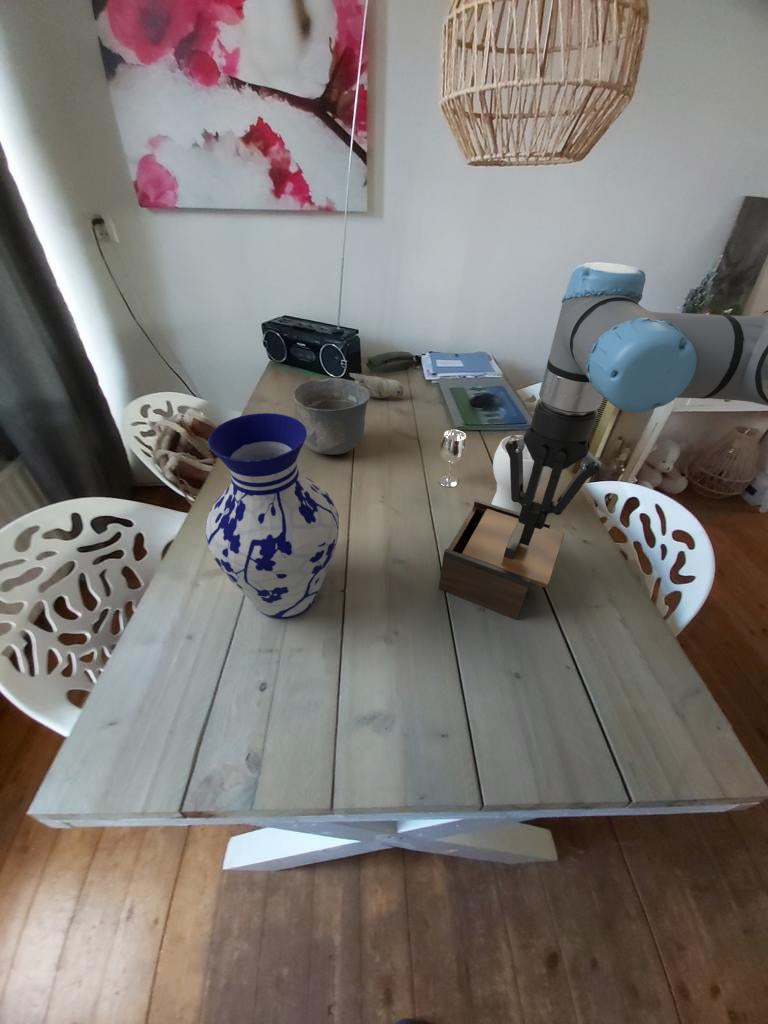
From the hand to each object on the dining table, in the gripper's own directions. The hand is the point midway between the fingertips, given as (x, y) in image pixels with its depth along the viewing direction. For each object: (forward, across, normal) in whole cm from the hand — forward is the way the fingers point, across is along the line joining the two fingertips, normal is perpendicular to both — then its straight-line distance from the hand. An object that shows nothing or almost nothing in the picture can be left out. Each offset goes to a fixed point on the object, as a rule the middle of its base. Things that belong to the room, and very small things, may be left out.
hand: (525, 539), depth 71 cm
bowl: (+10, +51, -22) cm, 57 cm away
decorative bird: (+10, +56, -53) cm, 78 cm away
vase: (+10, +33, +21) cm, 41 cm away
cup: (+10, +6, -20) cm, 23 cm away
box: (+10, +4, 0) cm, 11 cm away
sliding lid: (+2, +1, 0) cm, 3 cm away
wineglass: (+10, +21, -23) cm, 33 cm away
